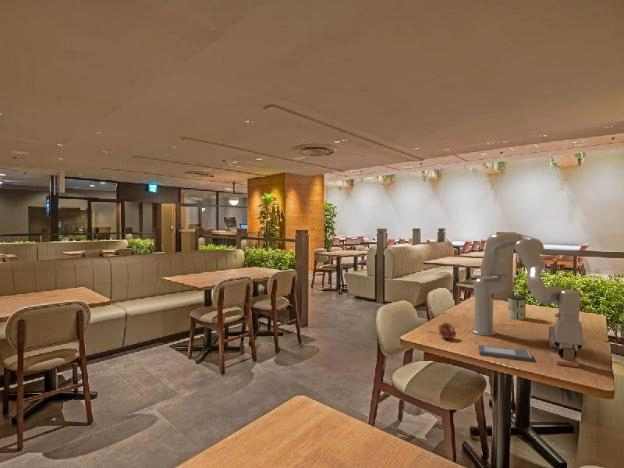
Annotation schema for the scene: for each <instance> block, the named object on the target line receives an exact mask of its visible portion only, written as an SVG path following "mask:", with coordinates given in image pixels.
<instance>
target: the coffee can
mask: <svg viewBox="0 0 624 468" xmlns="http://www.w3.org/2000/svg"><path fill="white" fill-rule="evenodd" d="M526 299H527V297H526V296H523V295H517V294H516V295H514V294H511V295H507V318H508V319H511V320H517V321H525V320H526V305H527V303H526V301H527V300H526Z"/></svg>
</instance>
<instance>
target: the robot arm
mask: <svg viewBox="0 0 624 468" xmlns="http://www.w3.org/2000/svg"><path fill="white" fill-rule="evenodd" d="M544 249H545V248H544V244H543V242H542V241H541V240H539V239H538V238H536V237H535V238H534V237H531V236H528V235H525V234H522V233H516V232H513V233H512V232H509V233H508V232H507V233H505V232H503V233H501V232H500V233H494V234H491V235H489V237H488V238H487V239H486V241H485V248H484V252H483V253H484V254H483V257H482V261H481V265H480V274H481V275H482V277H478V278H476V279H475V280H474V281H473V291H474V292H473V293H474V325H473V326H474V327H472V328H471V330H470V331H471V332H472V333H473V334H476V335H478V336H479V335H480V336H486V337H487V336H488V337H490V336H491V337H492V336H495V335H496V334H497V331H496V330H494V299H493V298H492V294H498V293H501V292H502V291H503V290H504V288H505V286H506V283H507V280H508V275H509V273H510V267H509V264H508V263H507V262H508V261H506V260H505V259H503V258H502V250H515V252H516V255H517V256H518V258H519V260H520V261H521V262H522V265H523V267H525V270H526V271H527V273H526V284H527V287H528V290H529V291H530V292H531V294H532V296H533V298H534V300H535V301H537V303H539V304H543V305H549V304H550V305H551V304H558V312H557V313H554V317H555V318H556V321H555V325H554V327H555V330H554V335H553V336H552V337H551V338H550V339H549V338H548V341H549V340H550V341H551V342H552V343H554V344H555V345H556V346H557V347H558V348H557V351H558V352H557V354H558V355H559V356H560V357H561V358H563V349H562V346H563V343H565V345H572V348H573V349H574V350H575V352H574V360H576V358H577V357H578V351H579V350H580V349H582V348H583V347H586V346H587V345H588V344H587V342H586V340H585V339H584V332H583V325H582V321H580V297H581V296H580V292H578V291H577V290H572V289H565V288H563V287H559V286H546V285H545V284H544V283H543V281H542V278H541V273H542V271H543V270H544V269H545V267H547V266H546V263H545V261H544V259H543V258H542V256H541V254H543V252H544ZM501 258H502V259H501ZM483 276H484V277H483ZM555 339H556V341H557V342H558V343H557V342H556V341H554V340H555Z"/></svg>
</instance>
